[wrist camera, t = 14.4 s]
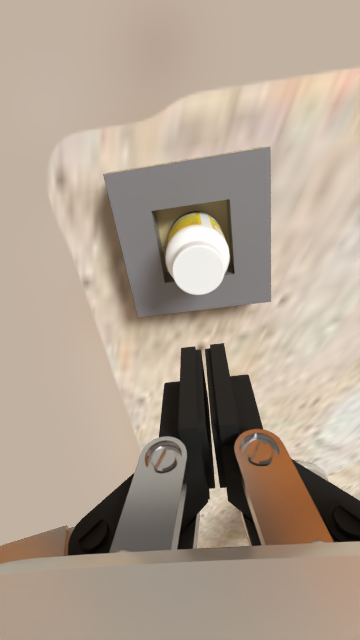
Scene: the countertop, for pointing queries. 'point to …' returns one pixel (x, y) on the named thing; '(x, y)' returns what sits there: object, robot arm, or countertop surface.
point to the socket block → (195, 195)
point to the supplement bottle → (197, 253)
